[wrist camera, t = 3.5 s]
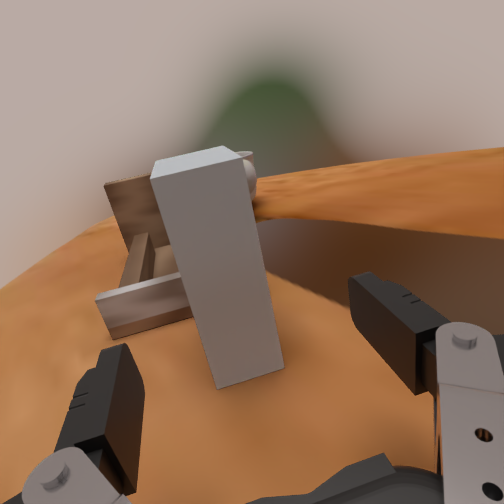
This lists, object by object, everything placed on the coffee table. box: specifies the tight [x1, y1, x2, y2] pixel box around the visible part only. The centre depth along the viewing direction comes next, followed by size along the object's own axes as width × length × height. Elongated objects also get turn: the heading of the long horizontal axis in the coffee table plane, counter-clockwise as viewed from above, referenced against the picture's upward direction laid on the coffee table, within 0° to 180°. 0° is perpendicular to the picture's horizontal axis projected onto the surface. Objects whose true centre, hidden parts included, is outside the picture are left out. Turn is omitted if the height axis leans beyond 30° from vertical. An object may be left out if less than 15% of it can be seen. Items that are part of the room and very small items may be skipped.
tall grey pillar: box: [150, 146, 285, 390], centre depth 19 cm, size 4×6×12 cm, turn 13°
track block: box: [95, 173, 193, 340], centre depth 31 cm, size 12×16×9 cm
